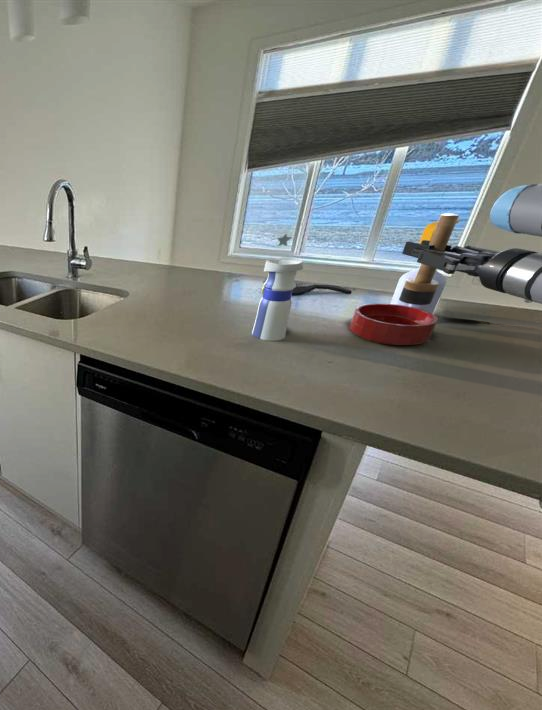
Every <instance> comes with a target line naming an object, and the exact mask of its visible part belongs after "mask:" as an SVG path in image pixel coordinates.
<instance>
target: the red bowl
mask: <svg viewBox="0 0 542 710" xmlns="http://www.w3.org/2000/svg"><path fill="white" fill-rule="evenodd" d="M438 321H439V319H438V316H436V315H435V314H434V313H433V314H432V313H430V312H427V311H425V310H422V309H418V308H414V307H410V306H404V305H397V304H390V303H384V302H383V303H382V302H381V303H377V302H375V303H365V304H360V305H359V306H357V307H356V308H355V309H354V311H353V314H352V318H351V320H350V324H349V330H350V331H351V332H352V334H355V335H356V336H359V337H361V338H363V339H365V340H368V341H371V342H374V343H378V344H383V345H391V346H411V345H413V346H414V345H421V344H423V343H424V344H425V343H427V342H428V341H429V340H430V339H431V337H432V335H433V332H434V330H435V328H436V325H437V324H438Z"/></svg>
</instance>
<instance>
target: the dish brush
mask: <svg viewBox="0 0 542 710" xmlns="http://www.w3.org/2000/svg"><path fill="white" fill-rule="evenodd" d="M459 218H460V214H458V213H441V214H440V216H439V219H438V220H437V221H438V223H437V226H436V228H435V231H434V233H433V236H432V238H431V241H430V243H429V245H435V246H434V247H435V248H434V249H437V250H442V251H444V250H445V248H446V246H447V245H448V243H449V241H450V238H451V236H452V233H453V232H454V229H455V226H456V224H457V223H456V222H457V220H459ZM420 264H421V263H420ZM419 266H420V265H419ZM418 268H419V267H418ZM436 270H437V269H436V268H433V267H430V266H427V265H424V264H421V266H420V268H419V271H418V273H417V276H416V278H409V279H407V280H406V282H405V285H404V287H403V290H402V293H401V295H400V298H399V300H400V301H402V302H404V303H408V304H414V305H428V304H430V303H431V302H432V299H433V297H434V295H435V293H436V290H437V288H438V286H439V282H438V281H436V280H432V279H433V276H434V274H435V272H436Z"/></svg>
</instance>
